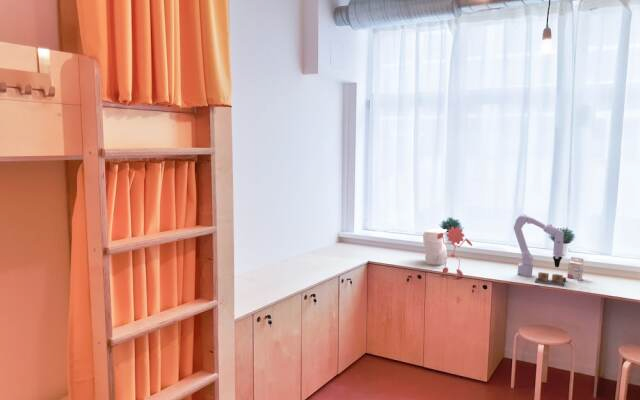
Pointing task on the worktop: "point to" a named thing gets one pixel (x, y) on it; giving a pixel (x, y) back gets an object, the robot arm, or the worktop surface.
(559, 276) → the block
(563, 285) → the grey divided tray
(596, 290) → the worktop surface
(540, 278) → the block
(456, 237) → the figurine
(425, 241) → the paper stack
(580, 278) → the ink cartridge box
